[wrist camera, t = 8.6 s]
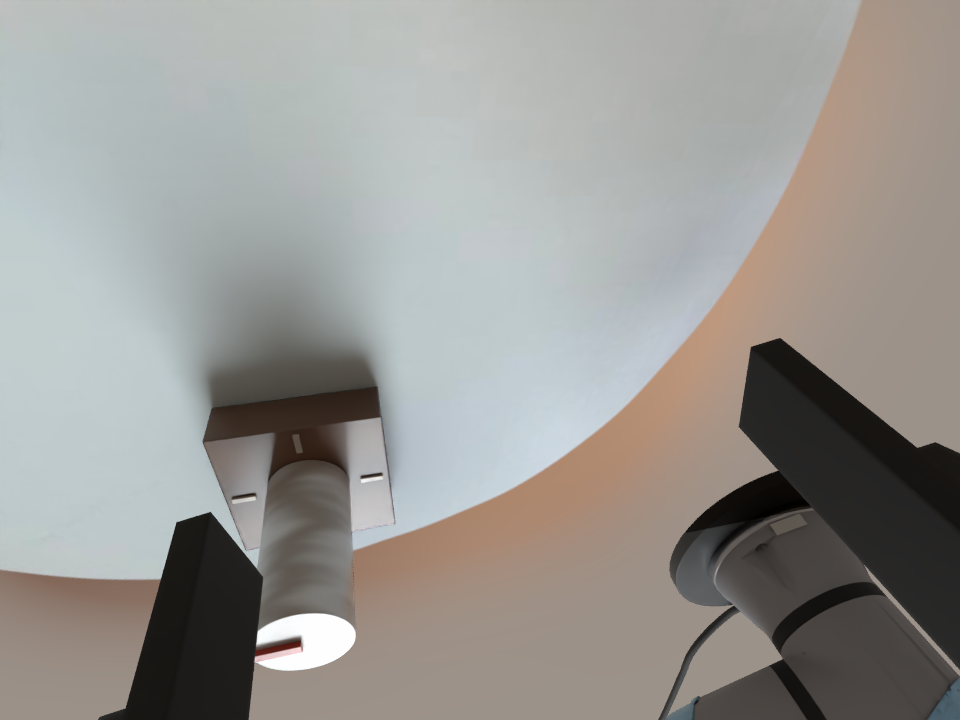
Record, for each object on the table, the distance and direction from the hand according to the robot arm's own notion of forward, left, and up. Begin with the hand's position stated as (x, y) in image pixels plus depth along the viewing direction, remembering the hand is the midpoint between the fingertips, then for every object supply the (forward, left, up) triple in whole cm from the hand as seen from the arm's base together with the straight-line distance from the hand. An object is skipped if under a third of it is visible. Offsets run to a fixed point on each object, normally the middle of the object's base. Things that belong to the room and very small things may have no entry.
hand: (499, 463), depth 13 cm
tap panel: (-17, +8, -19) cm, 27 cm away
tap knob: (-17, +8, -16) cm, 24 cm away
